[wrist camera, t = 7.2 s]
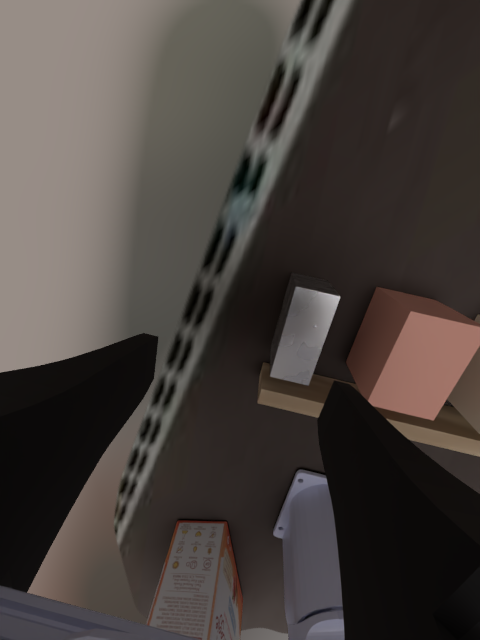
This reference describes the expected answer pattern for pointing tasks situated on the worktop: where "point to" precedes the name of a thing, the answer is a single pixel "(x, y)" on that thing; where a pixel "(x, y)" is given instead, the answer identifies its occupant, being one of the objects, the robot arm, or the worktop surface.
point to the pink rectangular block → (411, 352)
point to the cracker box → (199, 584)
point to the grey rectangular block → (302, 328)
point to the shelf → (310, 399)
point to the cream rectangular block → (469, 391)
